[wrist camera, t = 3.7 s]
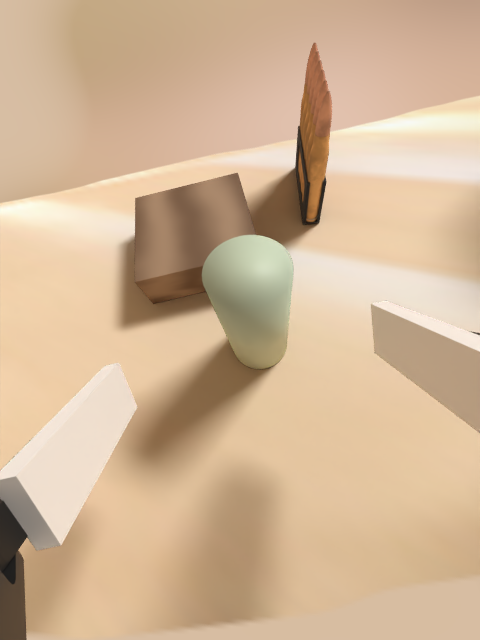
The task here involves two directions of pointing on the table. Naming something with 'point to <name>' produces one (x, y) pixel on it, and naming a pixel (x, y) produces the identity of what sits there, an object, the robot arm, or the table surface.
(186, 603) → the table surface
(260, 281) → the sage cylinder
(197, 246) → the walnut plinth
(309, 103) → the ammunition clip
